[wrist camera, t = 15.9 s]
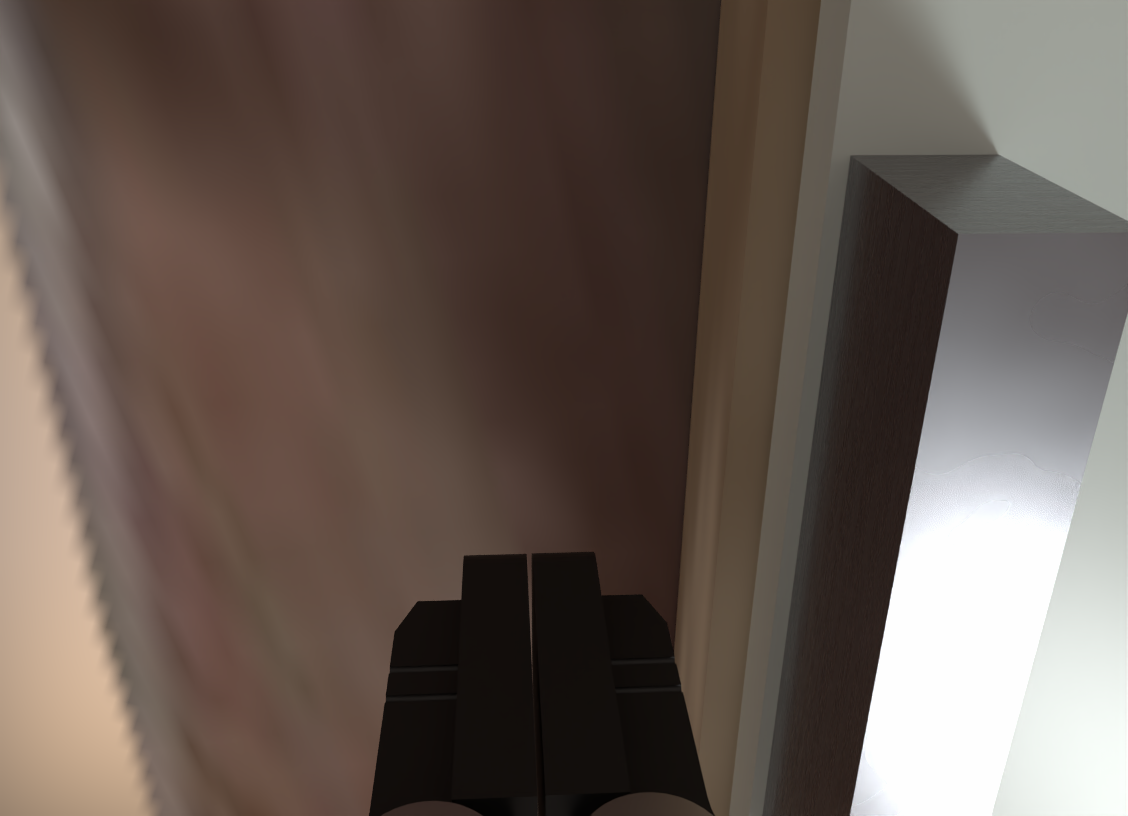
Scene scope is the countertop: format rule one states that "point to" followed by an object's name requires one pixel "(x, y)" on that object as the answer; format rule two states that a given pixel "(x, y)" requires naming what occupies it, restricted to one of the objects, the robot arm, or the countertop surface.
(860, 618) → the cover
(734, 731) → the board
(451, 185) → the countertop surface
